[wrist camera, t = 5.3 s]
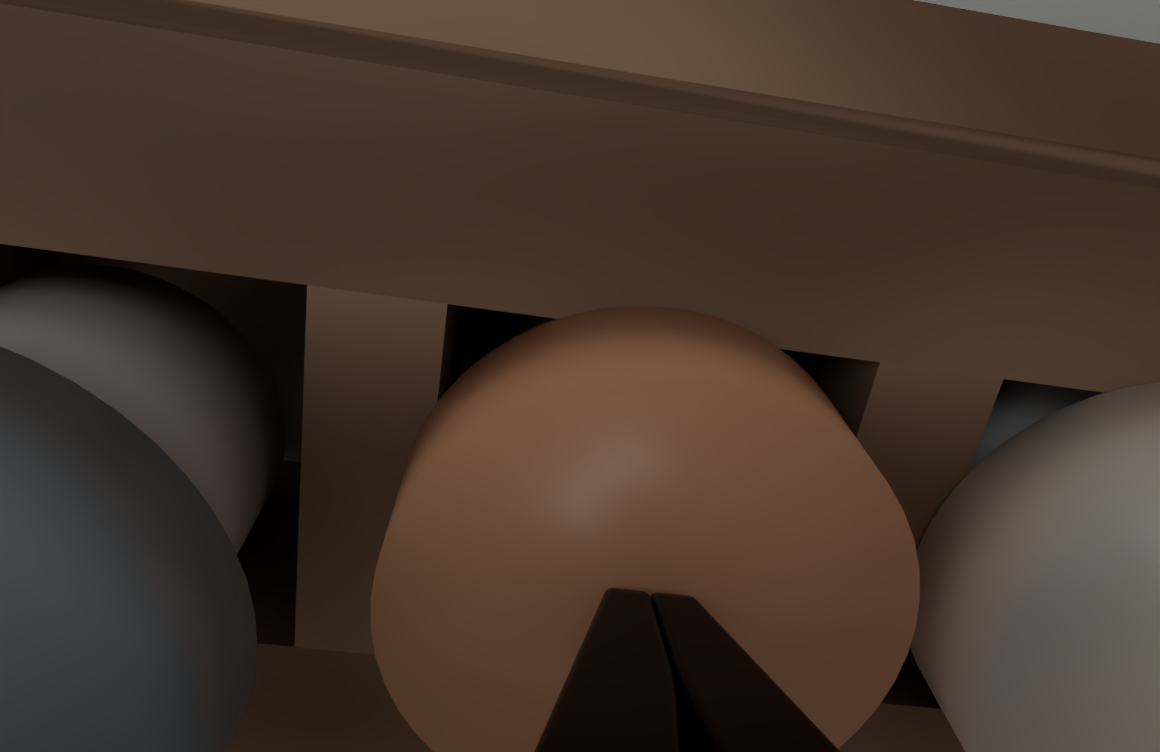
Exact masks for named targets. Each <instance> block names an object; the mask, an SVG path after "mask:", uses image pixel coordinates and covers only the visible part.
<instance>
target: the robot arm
mask: <svg viewBox="0 0 1160 752" xmlns="http://www.w3.org/2000/svg"><path fill="white" fill-rule="evenodd" d="M534 752H841V751H840V750H839V749H838V748H837V747H836V746H835V745H834V744H833V743H832V742H831V741H830V740H829V739H828V738H827V737H826V736H825V734H824V733H823V732H822V731H821V730H820V729H819V728H818V727H817V726H816V725H815V724H814V723H813V722H812V721H811V720H810V719H809V718H808V717H807V715H806V714H805V713H804V712H803V711H802V710H801V709H800V708H799V707H798V706H797V705H796V704H795V703H794V702H793V701H792V700H791V699H790V698H789V696H788V695H787V694H786V693H785V692H784V691H783V690H782V689H781V688H780V687H779V686H778V685H777V684H776V683H775V682H774V681H773V680H772V679H771V678H770V676H769V675H768V674H767V673H766V672H765V671H764V670H763V669H762V668H761V667H760V666H759V665H758V664H757V663H756V662H755V661H754V660H753V659H752V657H751V656H750V655H749V654H748V653H747V652H746V651H745V650H744V649H743V648H742V647H741V646H740V645H739V644H738V643H737V642H736V641H735V640H734V638H733V637H732V636H731V635H730V634H729V633H728V632H727V631H726V630H725V629H724V628H723V627H722V626H721V625H720V624H719V623H718V622H717V621H716V619H715V618H714V617H713V616H712V615H711V614H710V613H709V612H708V611H707V610H706V609H705V608H704V607H703V606H702V605H701V604H700V603H699V602H698V601H697V600H696V599H695V598H694V597H692V596H688V595H679V594H669V593H660V592H656V593H654V594H652V595H651V596H649V594H648V593H646V592H644V591H640V590H631V589H622V588H609V589H607V590H606V591H605V592H604V595H603V597H602V599H601V601H600V604H599V606H598V608H597V610H596V613H595V615H594V617H593V619H592V622H591V624H590V626H589V629H588V631H587V633H586V635H585V638H584V640H583V642H582V644H581V647H580V649H579V651H578V653H577V656H576V658H575V660H574V663H573V665H572V667H571V669H570V672H569V674H568V676H567V678H566V681H565V683H564V685H563V687H562V690H561V692H560V694H559V696H558V699H557V701H556V703H555V706H554V708H553V710H552V712H551V715H550V717H549V719H548V721H547V724H546V726H545V728H544V730H543V733H542V735H541V737H540V740H539V742H538V744H537V746H536V749H535V751H534Z"/></svg>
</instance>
